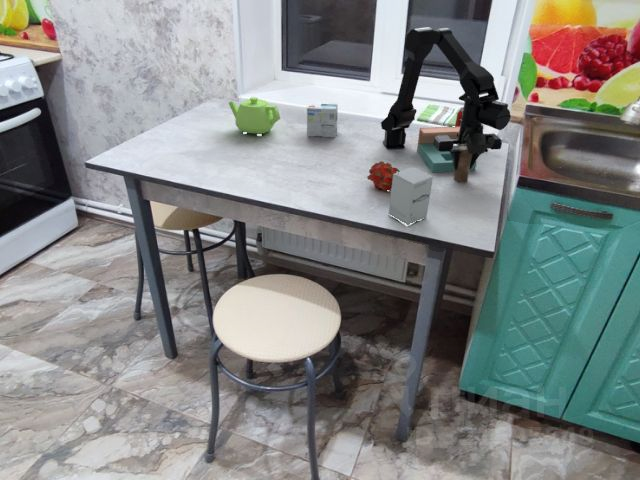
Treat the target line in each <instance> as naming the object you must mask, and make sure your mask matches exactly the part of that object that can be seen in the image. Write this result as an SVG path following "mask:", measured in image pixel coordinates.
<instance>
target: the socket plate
mask: <svg viewBox="0 0 640 480" xmlns="http://www.w3.org/2000/svg"><path fill="white" fill-rule="evenodd" d="M418 130H419V131H418V139H417V148H416V151H417V152H418V154H419V155H420V157H421V159H422V160H423V161H424V163H425V164H426V165H427V167H428V168H429V170H430V171H431V172H432V173H437V172H438V173H439V172H440V173H442V172H455V169H454V165H453V161H452V157H451V153H450V152H449V151H446V152H440V151H438V150H437V148H436V147H435V146H434V145H433V142H434V138H435V137H436V136H442V135H448V136H449V137H450V138H451V139H458V137H457V133H459V130H460V126H459V127H450V126H440V127H439V126H437V127H433V126H432V127H420V128H419V129H418ZM460 147H462V146H460ZM460 147H459V148H460ZM476 168H477V160H476V162H475V163H474V165H473V166H472V168H471V169H469V171H475V170H476Z"/></svg>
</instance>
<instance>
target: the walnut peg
mask: <svg viewBox="0 0 640 480" xmlns="http://www.w3.org/2000/svg"><path fill="white" fill-rule="evenodd" d="M459 150H460V151H461V153H460V155H459V160H458V167H457V170H455V171H454V175H453V181H455V182H456V181H457V183H460V182H464V183H466V182H468V178H469V173H470V170H469V169H470V164H471V159H472V154H470V153H469V152H468V149H467V147H466V145H465V146H462V147H460V148H459Z"/></svg>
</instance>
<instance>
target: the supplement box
mask: <svg viewBox="0 0 640 480" xmlns="http://www.w3.org/2000/svg"><path fill="white" fill-rule="evenodd" d="M399 171H400V172H398V171H397V173H395V174H393V180H392V189H390V190H391V192H390V199H389V208H388V215H389V214H390V215H392V216H394V217H395V218H397V219H399V220H400V221H402V222H404V223H406V224H407V225H409V224H410V223H413V222H415V221H417V220H420V219H423V218H426V219H427V217H428V212H429V211H428V210H429V204H430V198H431V194H432V193H431V192H432V186H433V178H434V176H433V175H431V174H429V173H427V172H425V171H423V170H421V169H418V168H416V167H414V166H412V167H409V168H406V169H403V170H399Z"/></svg>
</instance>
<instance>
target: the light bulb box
mask: <svg viewBox="0 0 640 480" xmlns="http://www.w3.org/2000/svg"><path fill="white" fill-rule="evenodd" d="M338 108H339V107H338V103H337V102H336V103H335V102H334V103H333V102H331V103H330V102H310V101H309V103H308V105H307V107H306V132H307V133H306V136H307V137H314V136H322V137H321V138H334V137H335V138H336V137H337V132H338V110H339V109H338Z"/></svg>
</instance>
